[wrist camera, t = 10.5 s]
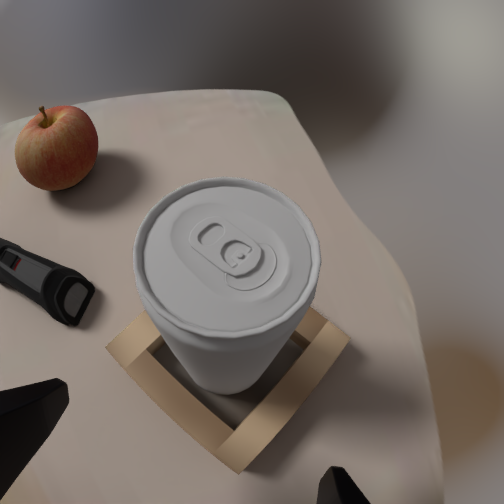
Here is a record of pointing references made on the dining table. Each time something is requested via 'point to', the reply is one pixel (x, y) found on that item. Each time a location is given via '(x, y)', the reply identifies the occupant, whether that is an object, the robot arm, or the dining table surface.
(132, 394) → the dining table surface
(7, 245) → the electric trimmer
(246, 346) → the beverage can
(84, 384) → the dining table surface
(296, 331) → the socket block
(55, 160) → the apple
